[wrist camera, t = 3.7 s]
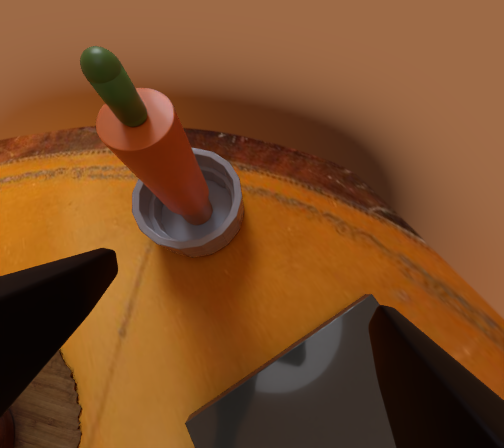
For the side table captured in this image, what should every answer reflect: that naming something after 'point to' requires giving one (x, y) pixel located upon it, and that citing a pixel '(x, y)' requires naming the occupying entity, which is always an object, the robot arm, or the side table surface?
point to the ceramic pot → (44, 411)
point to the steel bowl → (177, 228)
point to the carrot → (147, 137)
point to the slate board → (305, 394)
